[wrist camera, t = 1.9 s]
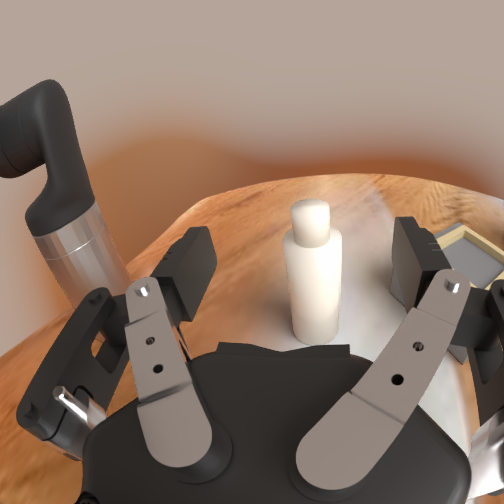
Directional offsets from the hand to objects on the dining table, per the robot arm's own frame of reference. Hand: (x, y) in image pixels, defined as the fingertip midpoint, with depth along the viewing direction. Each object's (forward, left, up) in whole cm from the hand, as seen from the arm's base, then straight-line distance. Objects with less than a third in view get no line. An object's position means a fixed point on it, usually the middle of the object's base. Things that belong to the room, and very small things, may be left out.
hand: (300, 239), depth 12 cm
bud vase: (-10, +6, -19) cm, 22 cm away
